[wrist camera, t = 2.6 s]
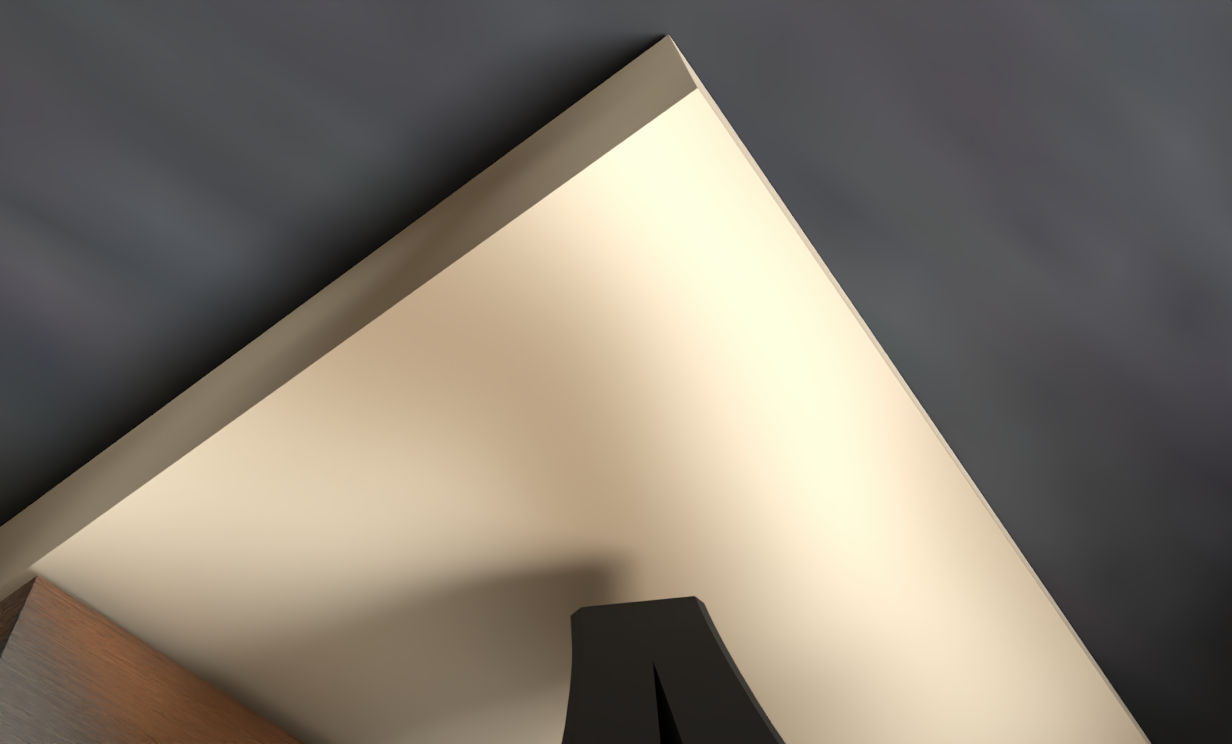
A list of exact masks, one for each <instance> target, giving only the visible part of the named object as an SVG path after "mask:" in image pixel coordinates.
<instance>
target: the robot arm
mask: <svg viewBox="0 0 1232 744" xmlns="http://www.w3.org/2000/svg"><path fill="white" fill-rule="evenodd" d="M570 618H571V639H572V667H571V680H570V690H569V698H568V706H567V713H566V721H565V727H564V733H563V738H562V743H561V744H786V743H785V742H784V740H783V739H782V737H781V736H780V734H779V733H778V732H777V730H776V729H775V727H774V726H773V724H772V723H771V721H770V719H769V718H768V716H767V715H766V713H765V712H764V710H763V708H762V707H761V705H760V704H759V702H758V701H757V699H756V697H755V696H754V694H753V692H752V691H751V689H750V687H749V686H748V684H747V682H746V681H745V679H744V677H743V676H742V674H741V672H740V671H739V669H738V667H737V665H736V664H735V662H734V660H733V658H732V657H731V655H730V653H729V651H728V649H727V648H726V646H725V644H724V642H723V640H722V638H721V636H720V635H719V633H718V631H717V629H716V627H715V625H714V623H713V621H712V619H711V617H710V615H709V613H708V610H707V608H706V606H705V604H704V602H702V601H701V600H699V599H698V598H697V597H695V596H688V597H678V598H668V599H658V600H648V601H638V602H628V603H618V604H607V605H597V606H587V607H580V608H579V609H578V610H577V611H576V612H574V613H573V614H572V615H571V616H570Z"/></svg>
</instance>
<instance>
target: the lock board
mask: <svg viewBox="0 0 1232 744" xmlns="http://www.w3.org/2000/svg"><path fill="white" fill-rule="evenodd" d="M37 575H38V576H40V577H42V578H43V579H45V580H46V581H48V582H50V583H51V584H53V585H54V586H56V587H57V588H59V589H61V590H62V591H64V592H65V593H67V594H69V595H70V596H72V597H73V598H75V599H77V600H78V601H80V602H81V603H83V604H84V605H86V606H88V607H89V608H91V609H92V610H94V611H96V612H97V613H99V614H100V615H102V616H104V617H105V618H107V619H108V620H110V621H111V622H113V623H115V624H116V625H118V626H119V627H121V628H123V629H124V630H126V631H127V632H129V633H131V634H132V635H134V636H135V637H137V638H138V639H140V640H142V641H143V642H145V643H146V644H148V645H150V646H151V647H153V648H154V649H156V650H157V651H159V652H161V653H162V654H164V655H165V656H167V657H169V658H170V659H172V660H173V661H175V662H177V663H178V664H180V665H181V666H183V667H184V668H186V669H188V670H189V671H191V672H192V673H194V674H196V675H197V676H199V677H200V678H202V679H204V680H205V681H207V682H208V683H210V684H211V685H213V686H215V687H216V688H218V689H219V690H221V691H223V692H224V693H226V694H227V695H229V696H231V697H232V698H234V699H235V700H237V701H238V702H240V703H242V704H243V705H245V706H246V707H248V708H250V709H251V710H253V711H254V712H256V713H258V714H259V715H261V716H262V717H264V718H265V719H267V720H269V721H270V722H272V723H273V724H275V725H277V726H278V727H280V728H281V729H283V730H285V731H286V732H288V733H289V734H291V735H292V736H294V737H296V738H297V739H299V740H300V741H302V742H304V743H305V744H561V743H562V738H563V733H564V727H565V721H566V713H567V706H568V698H569V690H570V680H571V667H572V639H571V618H570V616H571V615H572V614H573V613H574V612H576V611H577V610H578V609H579V608H580V607H587V606H597V605H607V604H618V603H628V602H638V601H648V600H658V599H668V598H678V597H688V596H695V597H697V598H698V599H699V600H701V601H702V602H704V604H705V606H706V608H707V610H708V613H709V615H710V617H711V619H712V621H713V623H714V625H715V627H716V629H717V631H718V633H719V635H720V636H721V638H722V640H723V642H724V644H725V646H726V648H727V649H728V651H729V653H730V655H731V657H732V658H733V660H734V662H735V664H736V665H737V667H738V669H739V671H740V672H741V674H742V676H743V677H744V679H745V681H746V682H747V684H748V686H749V687H750V689H751V691H752V692H753V694H754V696H755V697H756V699H757V701H758V702H759V704H760V705H761V707H762V708H763V710H764V712H765V713H766V715H767V716H768V718H769V719H770V721H771V723H772V724H773V726H774V727H775V729H776V730H777V732H778V733H779V734H780V736H781V737H782V739H783V740H784V742H785V743H786V744H1151V742H1150V741H1149V739H1148V738H1147V736H1146V735H1145V733H1144V732H1143V731H1142V729H1141V728H1140V726H1139V725H1138V723H1137V722H1136V720H1135V719H1134V717H1133V716H1132V714H1131V713H1130V711H1129V710H1128V708H1127V707H1126V706H1125V704H1124V703H1123V701H1122V700H1121V698H1120V697H1119V695H1118V694H1117V692H1116V691H1115V689H1114V688H1113V686H1112V685H1111V684H1110V682H1109V681H1108V679H1107V678H1106V676H1105V675H1104V673H1103V672H1102V670H1101V669H1100V667H1099V666H1098V664H1097V663H1096V661H1095V660H1094V659H1093V657H1092V656H1091V654H1090V653H1089V651H1088V650H1087V648H1086V647H1085V645H1084V644H1083V642H1082V641H1081V639H1080V638H1079V636H1078V635H1077V634H1076V632H1075V631H1074V629H1073V628H1072V626H1071V625H1070V623H1069V622H1068V620H1067V619H1066V617H1065V616H1064V614H1063V613H1062V612H1061V610H1060V609H1059V607H1058V606H1057V604H1056V603H1055V601H1054V600H1053V598H1052V597H1051V595H1050V594H1049V592H1048V591H1047V589H1046V588H1045V587H1044V585H1043V584H1042V582H1041V581H1040V579H1039V578H1038V576H1037V575H1036V573H1035V572H1034V570H1033V569H1032V567H1031V566H1030V565H1029V563H1028V562H1027V560H1026V559H1025V557H1024V556H1023V554H1022V553H1021V551H1020V550H1019V548H1018V547H1017V545H1016V544H1015V542H1014V541H1013V540H1012V538H1011V537H1010V535H1009V534H1008V532H1007V531H1006V529H1005V528H1004V526H1003V525H1002V523H1001V522H1000V520H999V519H998V517H997V516H996V515H995V513H994V512H993V510H992V509H991V507H990V506H989V504H988V503H987V501H986V500H985V498H984V497H983V495H982V494H981V493H980V491H979V490H978V488H977V487H976V485H975V484H974V482H973V481H972V479H971V478H970V476H969V475H968V473H967V472H966V470H965V469H964V468H963V466H962V465H961V463H960V462H959V460H958V459H957V457H956V456H955V454H954V453H953V451H952V450H951V448H950V447H949V446H948V444H947V443H946V441H945V440H944V438H943V437H942V435H941V434H940V432H939V431H938V429H937V428H936V426H935V425H934V423H933V422H932V421H931V419H930V418H929V416H928V415H927V413H926V412H925V410H924V409H923V407H922V406H921V404H920V403H919V401H918V400H917V398H916V397H915V396H914V394H913V393H912V391H911V390H910V388H909V387H908V385H907V384H906V382H905V381H904V379H903V378H902V376H901V375H900V374H899V372H898V371H897V369H896V368H895V366H894V365H893V363H892V362H891V360H890V359H889V357H888V356H887V354H886V353H885V351H884V350H883V349H882V347H881V346H880V344H879V343H878V341H877V340H876V338H875V337H874V335H873V334H872V332H871V331H870V329H869V328H868V327H867V325H866V324H865V322H864V321H863V319H862V318H861V316H860V315H859V313H858V312H857V310H856V309H855V307H854V306H853V304H852V303H851V302H850V300H849V299H848V297H847V296H846V294H845V293H844V291H843V290H842V288H841V287H840V285H839V284H838V282H837V281H836V279H835V278H834V277H833V275H832V274H831V272H830V271H829V269H828V268H827V266H826V265H825V263H824V262H823V260H822V259H821V257H820V256H819V255H818V253H817V252H816V250H815V249H814V247H813V246H812V244H811V243H810V241H809V240H808V238H807V237H806V235H805V234H804V232H803V231H802V230H801V228H800V227H799V225H798V224H797V222H796V221H795V219H794V218H793V216H792V215H791V213H790V212H789V210H788V209H787V208H786V206H785V205H784V203H783V202H782V200H781V199H780V197H779V196H778V194H777V193H776V191H775V190H774V188H773V187H772V185H771V184H770V183H769V181H768V180H767V178H766V177H765V175H764V174H763V172H762V171H761V169H760V168H759V166H758V165H757V163H756V162H755V160H754V159H753V158H752V156H751V155H750V153H749V152H748V150H747V149H746V147H745V146H744V144H743V143H742V141H741V140H740V138H739V137H738V136H737V134H736V133H735V131H734V130H733V128H732V127H731V125H730V124H729V122H728V121H727V119H726V118H725V116H724V115H723V113H722V112H721V111H720V109H719V108H718V106H717V105H716V103H715V102H714V100H713V99H712V97H711V96H710V94H709V93H708V91H707V90H706V89H705V87H704V86H703V84H702V83H701V81H700V80H699V78H698V77H697V75H696V74H695V72H694V71H693V69H692V68H691V66H690V65H689V64H688V62H687V61H686V59H685V58H684V56H683V55H682V53H681V52H680V50H679V49H678V47H677V46H676V44H675V43H674V41H673V40H672V39H671V37H670V36H669V35H667V36H666V37H664V38H663V39H662V40H660V41H659V42H658V43H656V44H655V45H654V46H652V47H651V48H650V49H648V50H647V51H645V52H644V53H643V54H641V55H640V56H639V57H637V58H636V59H635V60H633V61H632V62H631V63H629V64H628V65H626V66H625V67H624V68H622V69H621V70H620V71H618V72H617V73H616V74H614V75H613V76H612V77H610V78H609V79H607V80H606V81H605V82H603V83H602V84H601V85H599V86H598V87H597V88H595V89H594V90H593V91H591V92H590V93H589V94H587V95H586V96H584V97H583V98H582V99H580V100H579V101H578V102H576V103H575V104H574V105H572V106H571V107H570V108H568V109H567V110H565V111H564V112H563V113H561V114H560V115H559V116H557V117H556V118H555V119H553V120H552V121H551V122H549V123H548V124H546V125H545V126H544V127H542V128H541V129H540V130H538V131H537V132H536V133H534V134H533V135H532V136H530V137H529V138H527V139H526V140H525V141H523V142H522V143H521V144H519V145H518V146H517V147H515V148H514V149H513V150H511V151H510V152H508V153H507V154H506V155H504V156H503V157H502V158H500V159H499V160H498V161H496V162H495V163H494V164H492V165H491V166H489V167H488V168H487V169H485V170H484V171H483V172H481V173H480V174H479V175H477V176H476V177H475V178H473V179H472V180H470V181H469V182H468V183H466V184H465V185H464V186H462V187H461V188H460V189H458V190H457V191H456V192H454V193H453V194H451V195H450V196H449V197H447V198H446V199H445V200H443V201H442V202H441V203H439V204H438V205H437V206H435V207H434V208H433V209H431V210H430V211H428V212H427V213H426V214H424V215H423V216H422V217H420V218H419V219H418V220H416V221H415V222H414V223H412V224H411V225H409V226H408V227H407V228H405V229H404V230H403V231H401V232H400V233H399V234H397V235H396V236H395V237H393V238H392V239H390V240H389V241H388V242H386V243H385V244H384V245H382V246H381V247H380V248H378V249H377V250H376V251H374V252H373V253H371V254H370V255H369V256H367V257H366V258H365V259H363V260H362V261H361V262H359V263H358V264H357V265H355V266H354V267H352V268H351V269H350V270H348V271H347V272H346V273H344V274H343V275H342V276H340V277H339V278H338V279H336V280H335V281H333V282H332V283H331V284H329V285H328V286H327V287H325V288H324V289H323V290H321V291H320V292H319V293H317V294H316V295H314V296H313V297H312V298H310V299H309V300H308V301H306V302H305V303H304V304H302V305H301V306H300V307H298V308H297V309H295V310H294V311H293V312H291V313H290V314H289V315H287V316H286V317H285V318H283V319H282V320H281V321H279V322H278V323H277V324H275V325H274V326H272V327H271V328H270V329H268V330H267V331H266V332H264V333H263V334H262V335H260V336H259V337H258V338H256V339H255V340H253V341H252V342H251V343H249V344H248V345H247V346H245V347H244V348H243V349H241V350H240V351H239V352H237V353H236V354H234V355H233V356H232V357H230V358H229V359H228V360H226V361H225V362H224V363H222V364H221V365H220V366H218V367H217V368H215V369H214V370H213V371H211V372H210V373H209V374H207V375H206V376H205V377H203V378H202V379H201V380H199V381H198V382H196V383H195V384H194V385H192V386H191V387H190V388H188V389H187V390H186V391H184V392H183V393H182V394H180V395H179V396H177V397H176V398H175V399H173V400H172V401H171V402H169V403H168V404H167V405H165V406H164V407H163V408H161V409H160V410H158V411H157V412H156V413H154V414H153V415H152V416H150V417H149V418H148V419H146V420H145V421H144V422H142V423H141V424H139V425H138V426H137V427H135V428H134V429H133V430H131V431H130V432H129V433H127V434H126V435H125V436H123V437H122V438H121V439H119V440H118V441H116V442H115V443H114V444H112V445H111V446H110V447H108V448H107V449H106V450H104V451H103V452H102V453H100V454H99V455H97V456H96V457H95V458H93V459H92V460H91V461H89V462H88V463H87V464H85V465H84V466H83V467H81V468H80V469H78V470H77V471H76V472H74V473H73V474H72V475H70V476H69V477H68V478H66V479H65V480H64V481H62V482H61V483H59V484H58V485H57V486H55V487H54V488H53V489H51V490H50V491H49V492H47V493H46V494H45V495H43V496H42V497H40V498H39V499H38V500H36V501H35V502H34V503H32V504H31V505H30V506H28V507H27V508H26V509H24V510H23V511H21V512H20V513H19V514H17V515H16V516H15V517H13V518H12V519H11V520H9V521H8V522H7V523H5V524H4V525H2V526H1V527H0V602H1V601H2V600H4V599H5V598H6V597H8V596H9V595H11V594H12V593H13V592H15V591H16V590H18V589H19V588H20V587H22V586H23V585H25V584H26V583H27V582H29V581H30V580H32V579H33V578H34V577H36V576H37Z"/></svg>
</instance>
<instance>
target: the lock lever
mask: <svg viewBox="0 0 1232 744" xmlns="http://www.w3.org/2000/svg"><path fill="white" fill-rule="evenodd" d="M0 744H305V743H304V742H302V741H300V740H299V739H297V738H296V737H294V736H292V735H291V734H289V733H288V732H286V731H285V730H283V729H281V728H280V727H278V726H277V725H275V724H273V723H272V722H270V721H269V720H267V719H265V718H264V717H262V716H261V715H259V714H258V713H256V712H254V711H253V710H251V709H250V708H248V707H246V706H245V705H243V704H242V703H240V702H238V701H237V700H235V699H234V698H232V697H231V696H229V695H227V694H226V693H224V692H223V691H221V690H219V689H218V688H216V687H215V686H213V685H211V684H210V683H208V682H207V681H205V680H204V679H202V678H200V677H199V676H197V675H196V674H194V673H192V672H191V671H189V670H188V669H186V668H184V667H183V666H181V665H180V664H178V663H177V662H175V661H173V660H172V659H170V658H169V657H167V656H165V655H164V654H162V653H161V652H159V651H157V650H156V649H154V648H153V647H151V646H150V645H148V644H146V643H145V642H143V641H142V640H140V639H138V638H137V637H135V636H134V635H132V634H131V633H129V632H127V631H126V630H124V629H123V628H121V627H119V626H118V625H116V624H115V623H113V622H111V621H110V620H108V619H107V618H105V617H104V616H102V615H100V614H99V613H97V612H96V611H94V610H92V609H91V608H89V607H88V606H86V605H84V604H83V603H81V602H80V601H78V600H77V599H75V598H73V597H72V596H70V595H69V594H67V593H65V592H64V591H62V590H61V589H59V588H57V587H56V586H54V585H53V584H51V583H50V582H48V581H46V580H45V579H43V578H42V577H40V576H38V575H37V576H36V577H34V578H33V579H32V580H30V581H29V582H27V583H26V584H25V585H23V586H22V587H20V588H19V589H18V590H16V591H15V592H13V593H12V594H11V595H9V596H8V597H6V598H5V599H4V600H2V601H1V602H0Z"/></svg>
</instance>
